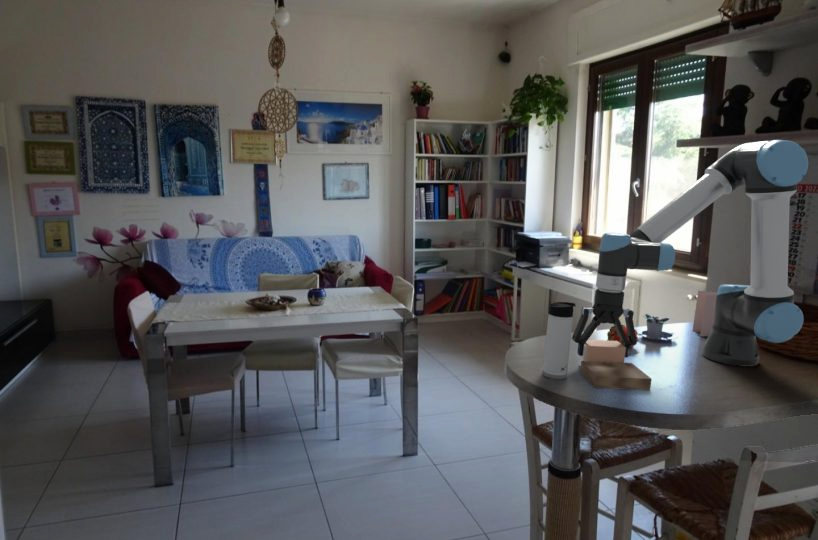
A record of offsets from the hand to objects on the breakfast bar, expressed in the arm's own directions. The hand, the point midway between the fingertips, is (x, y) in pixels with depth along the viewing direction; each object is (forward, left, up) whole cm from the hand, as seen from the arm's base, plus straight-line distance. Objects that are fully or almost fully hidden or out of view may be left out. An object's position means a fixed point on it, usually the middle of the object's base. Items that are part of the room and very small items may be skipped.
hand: (601, 367), depth 156 cm
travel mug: (+15, +7, 0) cm, 17 cm away
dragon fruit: (-14, -20, -1) cm, 24 cm away
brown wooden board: (0, +9, 0) cm, 9 cm away
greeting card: (-54, -40, 0) cm, 67 cm away
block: (0, 0, 0) cm, 0 cm away
